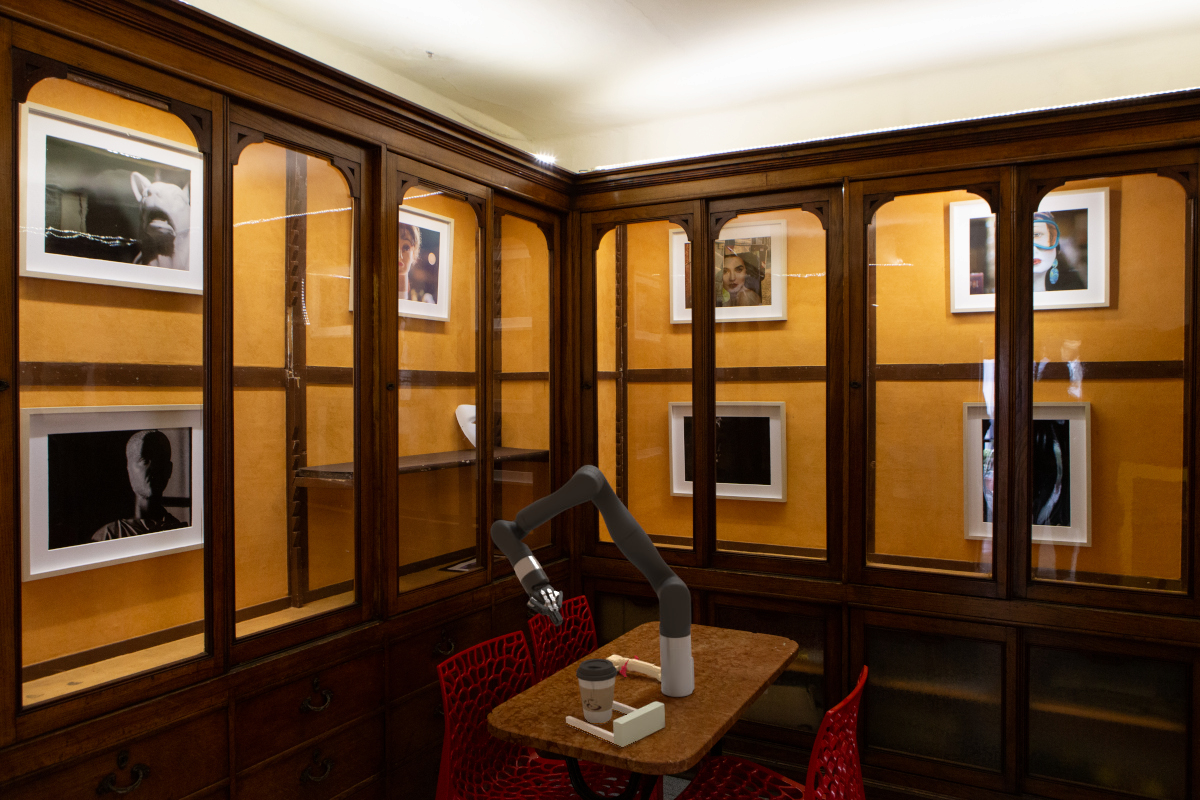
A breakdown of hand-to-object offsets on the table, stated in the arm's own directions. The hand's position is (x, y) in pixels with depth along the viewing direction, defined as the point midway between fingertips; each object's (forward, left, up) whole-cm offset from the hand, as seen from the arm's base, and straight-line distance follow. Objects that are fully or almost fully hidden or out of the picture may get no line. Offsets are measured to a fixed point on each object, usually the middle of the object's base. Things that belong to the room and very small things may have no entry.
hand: (559, 623), depth 217 cm
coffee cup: (0, +14, -24) cm, 28 cm away
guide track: (0, +21, -23) cm, 31 cm away
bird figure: (-31, +1, -24) cm, 39 cm away
